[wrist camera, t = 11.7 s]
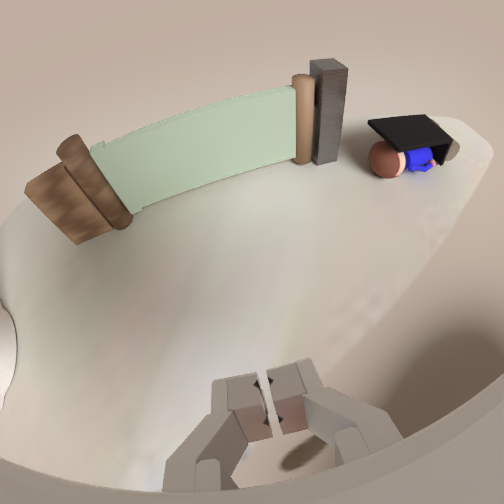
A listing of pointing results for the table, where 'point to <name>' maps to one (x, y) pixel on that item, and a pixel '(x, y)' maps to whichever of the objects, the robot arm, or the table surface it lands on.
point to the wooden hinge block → (78, 195)
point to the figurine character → (409, 145)
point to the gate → (210, 144)
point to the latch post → (327, 108)
